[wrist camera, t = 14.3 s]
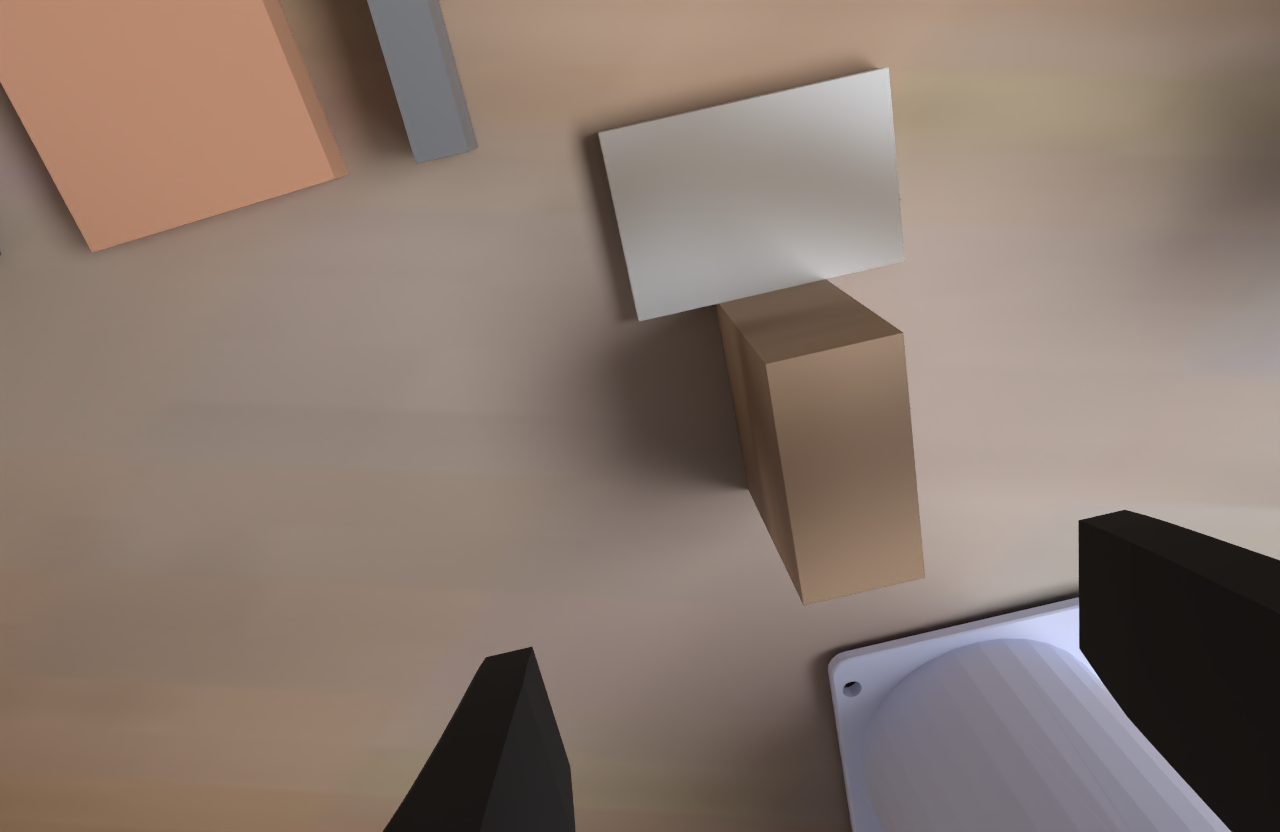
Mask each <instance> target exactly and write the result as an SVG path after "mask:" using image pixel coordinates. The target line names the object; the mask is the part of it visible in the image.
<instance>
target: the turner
mask: <svg viewBox="0 0 1280 832" xmlns="http://www.w3.org/2000/svg"><path fill="white" fill-rule="evenodd" d="M597 133H598V138H599V142H600V147H601V152H602V156H603V161H604V165H605V170H606V175H607V179H608V184H609V189H610V193H611V198H612V202H613V207H614V212H615V216H616V221H617V226H618V230H619V235H620V239H621V244H622V249H623V253H624V258H625V263H626V267H627V272H628V276H629V281H630V286H631V290H632V295H633V300H634V304H635V309H636V313H637V317H638V320H639V322H640V321H644V320H648V319H653V318H657V317H662V316H666V315H670V314H675V313H679V312H684V311H688V310H692V309H697V308H701V307H705V306H710V305H714V304H716V309H717V315H718V321H719V326H720V332H721V337H722V343H723V349H724V354H725V360H726V366H727V371H728V377H729V383H730V388H731V394H732V399H733V405H734V411H735V416H736V422H737V428H738V433H739V439H740V445H741V450H742V456H743V461H744V467H745V473H746V478H747V484H748V490H749V492H750V494H751V496H752V498H753V500H754V502H755V504H756V507H757V509H758V511H759V513H760V515H761V517H762V519H763V521H764V523H765V525H766V527H767V530H768V532H769V534H770V536H771V538H772V540H773V542H774V544H775V546H776V548H777V551H778V553H779V555H780V557H781V559H782V561H783V563H784V565H785V567H786V569H787V571H788V574H789V576H790V578H791V580H792V582H793V584H794V586H795V588H796V590H797V592H798V594H799V597H800V599H801V601H802V603H803V605H808V604H812V603H816V602H821V601H825V600H829V599H834V598H838V597H842V596H847V595H851V594H855V593H860V592H864V591H868V590H873V589H877V588H881V587H886V586H890V585H894V584H899V583H903V582H907V581H912V580H916V579H920V578H925V572H924V561H923V550H922V539H921V527H920V516H919V505H918V493H917V482H916V471H915V460H914V448H913V437H912V426H911V415H910V403H909V392H908V381H907V370H906V358H905V347H904V336H903V332H901V331H900V330H898V329H897V328H896V327H894V326H893V325H891V324H890V323H888V322H887V321H885V320H884V319H882V318H881V317H880V316H878V315H877V314H875V313H874V312H872V311H871V310H869V309H868V308H867V307H865V306H864V305H862V304H861V303H859V302H858V301H856V300H855V299H853V298H852V297H851V296H849V295H848V294H846V293H845V292H843V291H842V290H840V289H839V288H837V287H836V286H835V285H833V284H832V283H830V282H829V281H827V280H826V279H828V278H833V277H837V276H842V275H846V274H850V273H855V272H859V271H863V270H868V269H872V268H877V267H881V266H885V265H890V264H894V263H899V262H903V261H905V255H904V243H903V232H902V220H901V208H900V196H899V185H898V173H897V161H896V149H895V138H894V126H893V114H892V102H891V91H890V79H889V68H878V69H873V70H869V71H865V72H860V73H856V74H851V75H847V76H842V77H838V78H834V79H829V80H825V81H820V82H816V83H812V84H807V85H803V86H798V87H794V88H789V89H785V90H781V91H776V92H772V93H767V94H763V95H758V96H754V97H750V98H745V99H741V100H736V101H732V102H727V103H723V104H719V105H714V106H710V107H705V108H701V109H697V110H692V111H688V112H683V113H679V114H674V115H670V116H666V117H661V118H657V119H652V120H648V121H643V122H639V123H635V124H630V125H626V126H621V127H617V128H612V129H608V130H604V131H599V132H597Z"/></svg>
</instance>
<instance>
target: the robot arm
mask: <svg viewBox="0 0 1280 832" xmlns="http://www.w3.org/2000/svg"><path fill="white" fill-rule="evenodd" d="M828 674H829V681H830V687H831V694H832V701H833V707H834V714H835V721H836V727H837V734H838V741H839V747H840V754H841V760H842V767H843V774H844V780H845V787H846V794H847V800H848V807H849V814H850V820H851V827H852V832H1280V560H1277V559H1274V558H1271V557H1268V556H1265V555H1262V554H1259V553H1256V552H1254V551H1251V550H1248V549H1245V548H1242V547H1239V546H1236V545H1233V544H1230V543H1227V542H1225V541H1222V540H1219V539H1216V538H1213V537H1210V536H1207V535H1204V534H1201V533H1198V532H1195V531H1192V530H1189V529H1186V528H1183V527H1180V526H1177V525H1174V524H1171V523H1168V522H1165V521H1162V520H1159V519H1156V518H1152V517H1149V516H1146V515H1142V514H1138V513H1135V512H1131V511H1127V510H1122V511H1118V512H1114V513H1109V514H1105V515H1101V516H1096V517H1092V518H1088V519H1083V520H1079V597H1077V598H1073V599H1069V600H1064V601H1060V602H1056V603H1051V604H1047V605H1043V606H1039V607H1034V608H1030V609H1026V610H1021V611H1017V612H1013V613H1008V614H1004V615H1000V616H996V617H991V618H987V619H983V620H978V621H974V622H970V623H965V624H961V625H957V626H952V627H948V628H944V629H940V630H935V631H931V632H927V633H922V634H918V635H914V636H909V637H905V638H901V639H897V640H892V641H888V642H884V643H879V644H875V645H871V646H866V647H862V648H858V649H853V650H849V651H845V652H842V653H839V654H837V655H836V656H835V657H833V658H832V659H831V661H830V663H829V665H828ZM853 681H856V682H855V683H854V684H853V685H852V686H850V687H844V686H845V685H846V684H847V683H849V682H853ZM383 832H575V820H574V806H573V794H572V782H571V771H570V765H569V761H568V758H567V755H566V752H565V749H564V746H563V742H562V739H561V736H560V733H559V730H558V727H557V723H556V720H555V717H554V714H553V711H552V708H551V704H550V701H549V698H548V695H547V692H546V689H545V685H544V682H543V679H542V676H541V673H540V670H539V667H538V663H537V660H536V657H535V654H534V651H533V648H532V647H529V648H525V649H520V650H516V651H512V652H507V653H503V654H499V655H494V656H490V657H486V658H485V660H484V661H483V663H482V664H481V666H480V667H479V669H478V671H477V673H476V674H475V676H474V678H473V680H472V682H471V683H470V685H469V687H468V689H467V691H466V693H465V695H464V696H463V698H462V700H461V702H460V704H459V706H458V708H457V709H456V711H455V713H454V715H453V717H452V718H451V720H450V722H449V724H448V726H447V727H446V729H445V731H444V733H443V734H442V736H441V738H440V740H439V742H438V743H437V745H436V747H435V748H434V750H433V752H432V753H431V755H430V757H429V759H428V760H427V762H426V764H425V765H424V767H423V769H422V770H421V772H420V774H419V775H418V777H417V779H416V780H415V782H414V784H413V786H412V787H411V789H410V790H409V792H408V794H407V795H406V797H405V799H404V800H403V802H402V803H401V805H400V806H399V808H398V809H397V811H396V812H395V814H394V815H393V817H392V818H391V820H390V822H389V823H388V825H387V826H386V828H385V829H384V831H383Z"/></svg>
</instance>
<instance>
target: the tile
mask: <svg viewBox="0 0 1280 832" xmlns="http://www.w3.org/2000/svg"><path fill="white" fill-rule="evenodd" d="M0 82H1V84H2V86H3V88H4V90H5V91H6V93H7V95H8V97H9V99H10V101H11V103H12V105H13V106H14V108H15V110H16V112H17V114H18V116H19V118H20V119H21V121H22V123H23V125H24V127H25V129H26V131H27V132H28V134H29V136H30V138H31V140H32V142H33V144H34V145H35V147H36V149H37V151H38V153H39V155H40V157H41V159H42V160H43V162H44V164H45V166H46V168H47V170H48V172H49V173H50V175H51V177H52V179H53V181H54V183H55V185H56V186H57V188H58V190H59V192H60V194H61V196H62V198H63V199H64V201H65V203H66V205H67V207H68V209H69V211H70V213H71V214H72V216H73V218H74V220H75V222H76V224H77V226H78V227H79V229H80V231H81V233H82V235H83V237H84V239H85V240H86V242H87V244H88V246H89V248H90V250H91V252H92V253H93V252H96V251H99V250H103V249H106V248H109V247H112V246H116V245H119V244H122V243H126V242H129V241H132V240H136V239H139V238H142V237H145V236H149V235H152V234H155V233H159V232H162V231H165V230H168V229H172V228H175V227H178V226H182V225H185V224H188V223H192V222H195V221H198V220H201V219H205V218H208V217H211V216H215V215H218V214H221V213H224V212H228V211H231V210H234V209H238V208H241V207H244V206H248V205H251V204H254V203H257V202H261V201H264V200H267V199H271V198H274V197H277V196H281V195H284V194H287V193H290V192H294V191H297V190H300V189H304V188H307V187H310V186H313V185H317V184H320V183H323V182H327V181H330V180H333V179H336V178H339V177H342V176H345V175H348V174H349V173H348V170H347V168H346V165H345V163H344V160H343V158H342V155H341V153H340V150H339V148H338V145H337V143H336V140H335V138H334V135H333V133H332V130H331V128H330V125H329V123H328V121H327V118H326V116H325V113H324V111H323V108H322V106H321V103H320V101H319V98H318V96H317V93H316V91H315V88H314V86H313V83H312V81H311V78H310V76H309V73H308V71H307V68H306V66H305V63H304V61H303V59H302V56H301V54H300V51H299V49H298V46H297V44H296V41H295V39H294V36H293V34H292V31H291V29H290V26H289V24H288V21H287V19H286V16H285V14H284V11H283V9H282V6H281V4H280V1H279V0H0Z"/></svg>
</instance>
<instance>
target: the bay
mask: <svg viewBox="0 0 1280 832" xmlns="http://www.w3.org/2000/svg"><path fill="white" fill-rule="evenodd" d="M367 2H368V5H369V9H370V12H371V15H372V19H373V22H374V25H375V29H376V32H377V35H378V39H379V42H380V45H381V49H382V52H383V55H384V59H385V62H386V65H387V69H388V72H389V75H390V79H391V82H392V85H393V89H394V92H395V95H396V99H397V102H398V105H399V109H400V112H401V115H402V119H403V122H404V125H405V129H406V132H407V135H408V138H409V142H410V145H411V148H412V152H413V155H414V158H415V162H416V164H417V163H422V162H426V161H431V160H435V159H440V158H444V157H448V156H453V155H457V154H462V153H466V152H469V151H471V150H473V149H475V148H476V147H478V145H477V142H476V138H475V134H474V130H473V127H472V123H471V119H470V116H469V112H468V108H467V105H466V101H465V97H464V94H463V90H462V86H461V82H460V79H459V75H458V71H457V68H456V64H455V60H454V57H453V53H452V49H451V46H450V42H449V38H448V34H447V31H446V27H445V23H444V20H443V16H442V12H441V9H440V5H439V1H438V0H367ZM0 255H1V252H0Z"/></svg>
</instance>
